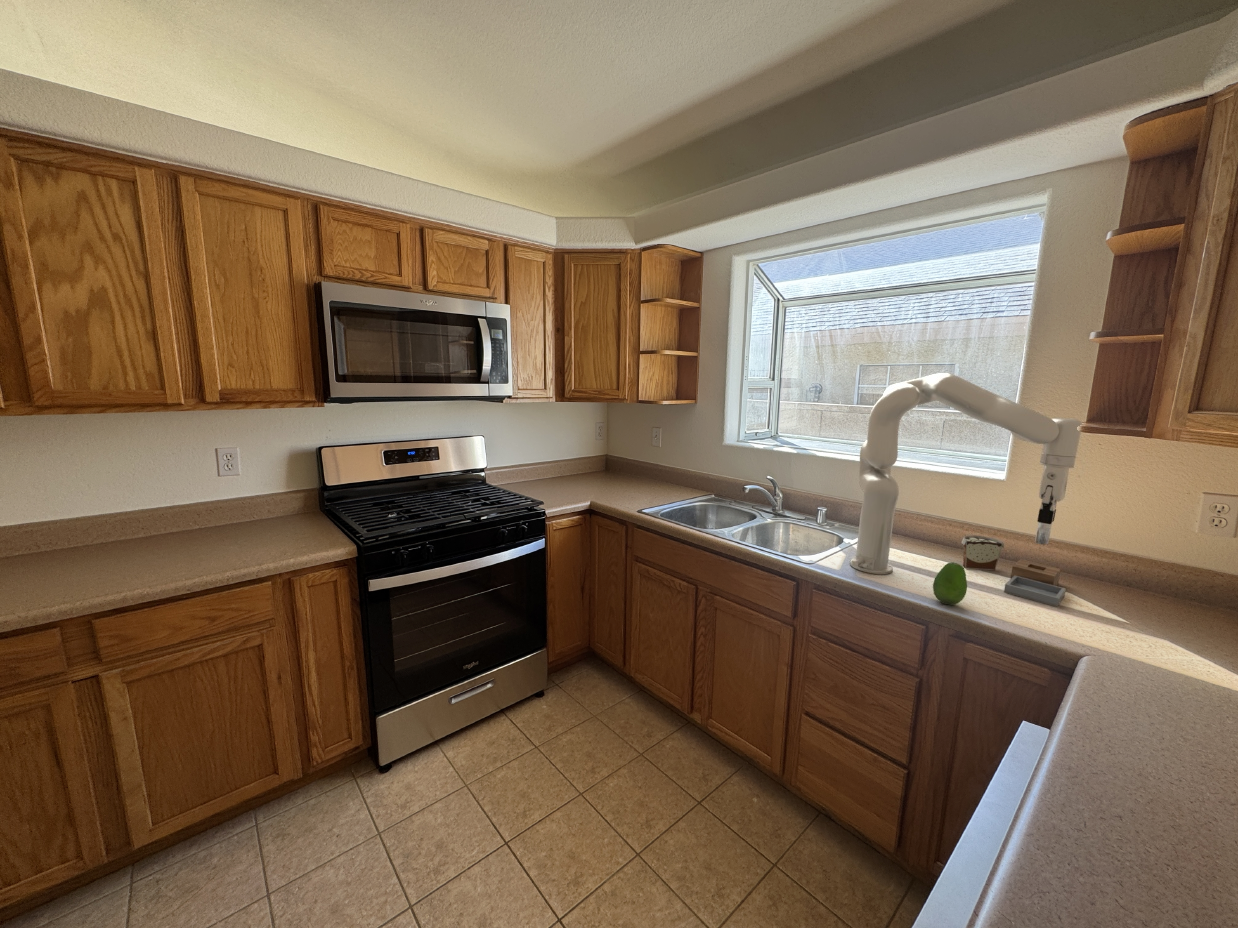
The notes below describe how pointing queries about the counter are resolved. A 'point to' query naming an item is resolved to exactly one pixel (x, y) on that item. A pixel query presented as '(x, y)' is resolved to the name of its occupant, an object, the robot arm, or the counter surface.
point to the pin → (1043, 532)
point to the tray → (1035, 590)
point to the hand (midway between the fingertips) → (1045, 521)
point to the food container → (981, 552)
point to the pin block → (1036, 572)
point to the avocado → (950, 584)
